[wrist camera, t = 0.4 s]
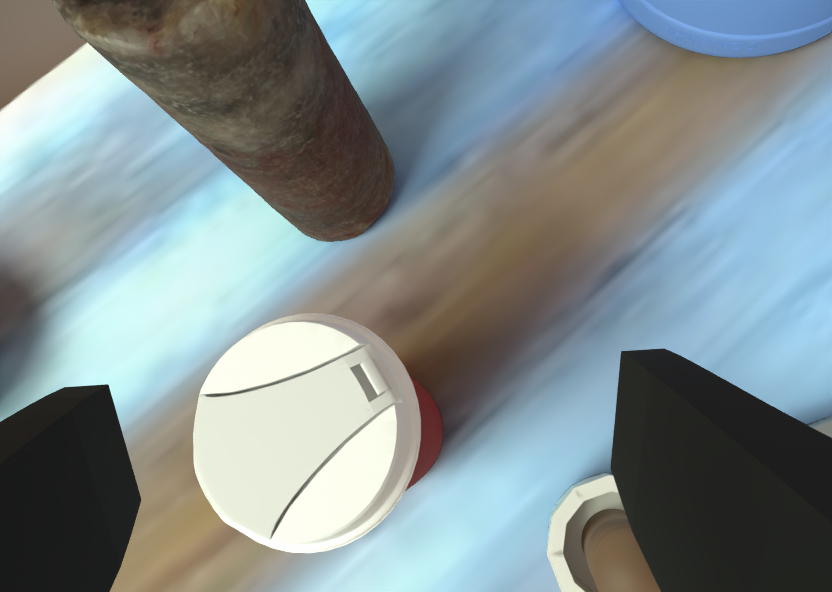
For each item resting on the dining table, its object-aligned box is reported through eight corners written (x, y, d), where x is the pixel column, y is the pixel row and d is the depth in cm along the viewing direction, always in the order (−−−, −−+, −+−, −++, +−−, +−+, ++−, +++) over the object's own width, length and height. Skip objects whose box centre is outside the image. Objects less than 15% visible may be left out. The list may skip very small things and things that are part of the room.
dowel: (660, 564, 32) (699, 606, 24) (597, 586, 32) (615, 634, 24) (632, 499, 32) (661, 519, 25) (571, 521, 33) (580, 547, 25)
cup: (703, 583, 32) (718, 597, 29) (578, 627, 32) (582, 644, 30) (646, 456, 33) (655, 457, 31) (528, 499, 34) (527, 505, 31)
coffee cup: (415, 329, 37) (335, 260, 23) (494, 458, 35) (461, 473, 20) (291, 407, 37) (135, 389, 23) (361, 540, 35) (237, 613, 21)
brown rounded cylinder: (263, 158, 41) (20, -88, 22) (368, 105, 40) (213, -195, 21) (306, 264, 39) (79, 96, 20) (417, 210, 38) (294, -16, 19)
